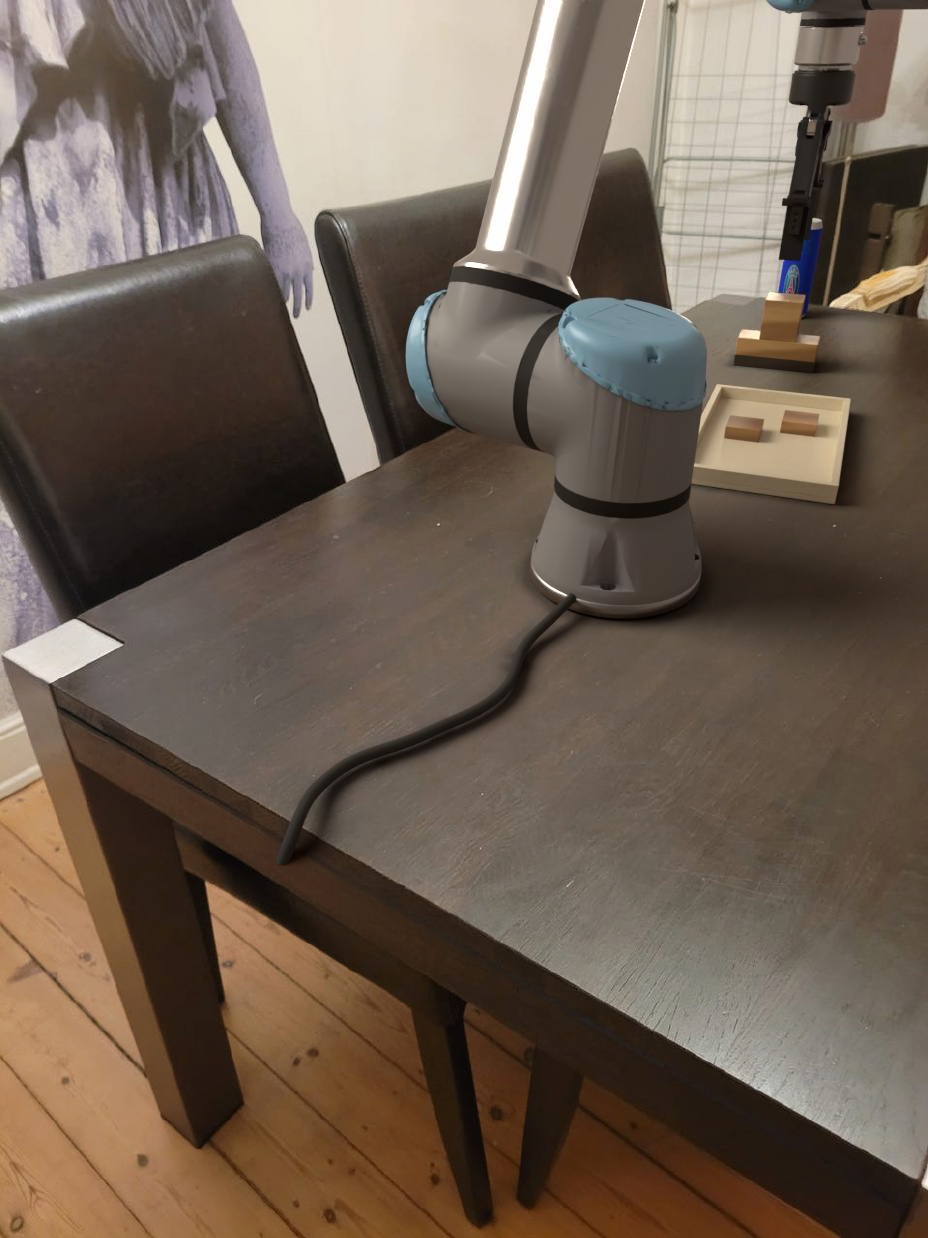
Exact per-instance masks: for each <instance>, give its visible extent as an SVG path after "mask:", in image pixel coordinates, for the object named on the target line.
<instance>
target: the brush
mask: <svg viewBox="0 0 928 1238" xmlns="http://www.w3.org/2000/svg"><path fill="white" fill-rule="evenodd" d="M805 296H806V295H799V294H786V293H778V292H773V291H772V292H771V291H769V292H768V294H767V296H766V298H765V300H764V307H763V312H762V317H761V318H762V319H761V325H760V330H756V329H754V330H753V329H741V330H740V332H739V334H738V336H737V338H736V344H735V353H734V359H733V366H739V367H750V368H760V369H761V368H762V369H769V370H770V369H771V370H780V371H789V372H800V373H810V374H812V373H814V370H815V365H816V361H817V356H818V351H819V345H820V340H821V336H820V335H812V334H811V335H810V334H799V333H800V328H801V323H802V318H803V317H802V313H803V307H804V302H805Z"/></svg>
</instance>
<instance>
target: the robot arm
mask: <svg viewBox="0 0 928 1238" xmlns="http://www.w3.org/2000/svg"><path fill="white" fill-rule="evenodd" d="M765 1H766V2H767V3H768V4H769V6H770V7H772V8H774V9H775V10H777V11H780V12H784V13H785V14H789V15H791V14H793V13H794V14H801V16H800V21H799V27H798V30H797V38H796V45H795V49H794V50H795V51H794V57H793V64H794V65H795V66H797V69H796V70H794V71H793V72H792V74H791V81H790V85H789V86H790V87H789V93H788V102H789V104H790V105H793V106H805V107H807V109H806V114H805V116H803V117H802V119H800V121H799V122H798V125H797V128H796V129H797V130H796V142H795V143H796V144H795V149H794V156H795V160H794V165H793V170H792V175H791V181H790V185H789V191H788V195H786V197H783V198H782V201H781V207H786V210H785V216H784V223H783V229H782V234H781V242H780V248H779V252H778V253H779V254H778V260H779V261H783V260H790V261H800V260H801V254H802V249H803V243H804V240H809V237H810V232H811V226H812V220H813V218H814V215H815V209H816V203H817V196H818V191H819V189H824V185H825V179H822V174H821V172H822V166H823V158H824V153H825V152H826V150H827V148H828V143H829V137H830V136H831V132H832V129H833V120H831V119H830V116H831V115H832V110H831V107H841V106H845V105H848V104H849V103H851V101H852V98H853V93H854V87H855V83H856V76H857V73H856V71H855V69H852V66H855V65H856V64H857V63H858V62H859V58H860V53H861V52H860V51H861V48H860V46H865V45H866V44H868V41H869V40H868V35H865V34H864V35H861V34H862V33H863V32H864V29H865V26H866V22H867V16H868V11H896V10H897V11H900V10H901V11H902V10H905V11H908V10H915V11H916V10H928V0H765ZM645 2H646V0H537V1H536V6H535V9H534V13H533V17H532V20H531V24H530V28H529V33H528V37H527V41H526V44H525V49H524V53H523V57H522V60H521V65H520V69H519V72H518V76H517V81H516V85H515V90H514V93H513V97H512V101H511V106H510V109H509V112H508V113H509V114H508V117H507V121H506V125H505V129H504V133H503V137H502V141H501V145H500V149H499V153H498V157H497V161H496V166H495V168H494V169H495V170H494V173H493V177H492V182H491V185H490V189H489V193H488V197H487V200H486V205H485V209H484V214H483V217H482V221H481V225H480V228H479V233H478V237H477V240H476V241H477V242H476V245H475V248H474V249H473V250H472V251H471V252H470V253H469V254H467V255H465V256H464V257H462V258H460V259H459V260H457V261H456V262H454V264H453V267H452V269H451V274H450V278H449V282H448V285H447V289H442V290H439V291H437V292H434V293H432V294H430V295H428V297H426V298H425V300H424V303H423V304H424V305H419V306H418V308H417V309H416V311H415V313H414V315H413V316H412V320H411V322H410V324H409V328H408V332H407V337H406V344H405V367H406V374H407V378H408V382H409V386H410V388H411V389H412V390H413V391H414V396H415V399H416V402H417V403H418V405H419V406H420V407H421V408H422V409H423V410H424V411H425V412H426V414H428V415H429V416H430V417H431V418H433V419H435V420H437V421H439V422H442V423H445V424H447V425H450V426H452V427H455V429H457V430H459V431H461V432H464V433H469V434H474V435H477V434H478V435H481V436H485V437H486V438H487V437H488V438H491V439H494V440H499V441H502V442H506V443H509V444H512V445H516V446H520V447H523V448H527V449H529V450H533V451H538V452H541V453H544V454H547V455H551V456H552V457H554V478H553V479H554V480H553V494H552V498H551V501H550V503H549V506H548V509H547V512H546V514H545V517H544V521H543V523H542V526H541V529H540V532H539V534H538V535H537V536H536V539H535V541H534V543H533V545H532V550H531V555H530V571H529V572H530V577H531V581H532V583H533V584H534V587H536V589H537V590H538V591H539V592H540V593H541V594H542V595H543V596H544V597H546V598H548V599H549V600H550V601H552V602H554V603H556V604H557V605H556V606H555V607H554V608H552V610H551V611H549V612H548V614H547V615H545V616H544V618H543V619H542V620H540V622H538V623H537V624H536V625H535V626H534V627H533V628H532V629H531V630H530V631H529V632H528V633H527V634H526V635H525V636H524V638H523V639H522V641H521V642H520V643H519V645H518V647H517V649H516V651H515V652H514V654H513V657H512V660H511V663H510V666H509V669H508V673H507V675H506V677H505V678H504V680H503V682H502V683H501V684H500V685H499V686H498V687H497V688H496V689H495V690H494V691H493V692H492V693H491V694H489V695H487V697H485V698H484V699H482V700H480V701H479V702H478V703H475V704H473V705H472V706H470V707H468V708H466V709H464V710H462V711H459V712H457V713H455V714H453V715H450V716H447V717H446V718H443V719H441V720H438V721H436V722H434V723H431V724H429V725H427V726H425V727H423V728H421V729H419V730H416V731H413V732H412V733H409V734H407V735H404V736H401V737H398V738H395V739H392V740H388V741H386V742H383V743H379V744H377V745H373V746H371V747H367V748H365V749H363V750H360V751H357V752H355V753H353V754H351V755H349V756H347V757H344V758H343V759H341V760H340V761H339V762H337V763H335V764H334V765H332V766H331V767H330V768H328V770H326V771H325V772H323V774H321V775H320V776H319V777H318V778H317V779H316V780H314V782H313V783H312V784H311V785H310V786H309V787H308V788H307V789H306V791H305V792H304V793H303V795H302V796H301V798H300V800H299V802H298V804H297V806H296V808H295V810H294V812H293V814H292V817H291V819H290V822H289V824H288V826H287V829H286V832H285V835H284V837H283V839H282V842H281V846H280V848H279V852H278V854H277V857H276V861H275V862H276V864H277V865H278V866H285V865H287V864H289V863H290V861H291V860H292V857H293V854H294V851H295V849H296V845H297V844H298V841H299V837H300V835H301V832H302V830H303V826H304V824H305V822H306V819H307V817H308V814H309V812H310V810H311V808H312V806H313V805H314V803H315V802H316V800H317V799H318V798H319V796H320V795H321V794H322V793H323V792H324V791H325V790H326V789H327V788H329V786H330V785H332V784H333V783H335V781H337V780H338V779H339V778H340V777H342V776H343V775H344V774H347V773H348V772H349V771H351V770H352V769H353V770H354V769H355V768H357V767H358V766H361V765H363V764H365V763H367V762H370V761H373V760H376V759H378V758H382V757H384V756H388V755H391V754H394V753H396V752H400V751H402V750H405V749H408V748H410V747H414V746H416V745H418V744H421V743H424V742H426V741H428V740H430V739H432V738H434V737H436V736H438V735H440V734H443V733H445V732H447V731H450V730H452V729H454V728H457V727H459V726H461V725H463V724H465V723H467V722H470V721H472V720H474V719H476V718H477V717H479V716H481V715H483V714H485V713H487V712H488V711H489V710H491V709H492V708H494V707H495V706H497V705H498V704H499V703H500V702H502V701H503V699H505V698H506V696H508V694H510V692H511V691H512V689H513V688H514V686H515V685H516V683H517V680H518V678H519V676H520V673H521V670H522V667H523V663H524V660H525V657H526V655H527V653H528V652H529V650H530V649H531V648H532V646H533V645H534V644H535V643H536V641H537V640H538V639H539V638H540V637H541V636H542V635H544V633H545V632H546V631H548V629H550V627H551V626H552V625H554V624H555V623H556V622H557V621H558V619H560V617H561V616H562V615H563V614H565V613H566V612H567V610H568V609H569V610H571V611H574V612H577V613H580V614H585V615H588V616H594V617H600V618H606V619H641V618H648V617H649V618H650V617H655V616H658V615H663V614H665V613H669V612H671V611H674V610H676V609H678V608H680V607H683V606H684V605H685V604H688V603H689V601H691V600H692V599H693V598H694V597H695V595H696V594H697V592H698V590H699V587H700V583H701V576H702V570H703V569H702V556H701V551H700V547H699V546H698V543H697V541H698V540H697V534H696V528H695V524H694V519H693V515H692V510H691V506H690V499H691V490H692V484H691V483H692V476H693V469H694V462H695V455H696V448H697V441H698V434H699V427H700V420H701V415H702V413H703V405H704V399H705V397H706V394H707V387H708V385H707V379H706V377H707V362H708V361H707V360H708V347H707V342H706V338H705V337H704V335H703V333H702V332H701V331H700V330H699V328H698V327H697V325H696V324H694V322H692V321H691V320H690V319H689V318H687V317H686V316H685V315H684V316H683V315H682V314H680V313H678V312H676V311H673V310H671V309H669V308H666V307H663V306H661V305H657V304H654V303H650V302H645V301H641V300H638V299H637V300H636V299H631V298H629V299H628V298H626V299H623V300H622V299H617V298H614V297H592V298H586V299H585V298H584V299H582V298H581V296H580V293H579V291H578V289H577V288H576V286H575V284H574V282H573V280H572V275H571V273H572V270H573V266H574V262H575V258H576V254H577V251H578V247H579V243H580V240H581V236H582V232H583V229H584V225H585V222H586V218H587V214H588V212H589V211H588V210H589V207H590V203H591V199H592V195H593V192H594V189H595V184H596V181H597V178H598V174H599V170H600V166H601V163H602V159H603V155H604V151H605V149H606V145H607V141H608V137H609V133H610V130H611V126H612V124H613V119H614V116H615V111H616V108H617V104H618V100H619V97H620V93H621V90H622V86H623V83H624V79H625V75H626V71H627V67H628V64H629V61H630V57H631V53H632V49H633V46H634V42H635V39H636V36H637V31H638V28H639V24H640V20H641V16H642V13H643V9H644V5H645Z"/></svg>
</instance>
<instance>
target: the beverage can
mask: <svg viewBox="0 0 928 1238" xmlns="http://www.w3.org/2000/svg"><path fill="white" fill-rule="evenodd" d="M823 228H824V227H823V220H822V219H820V218H817V217H813V220H812V226H811V232H810V237H809V240H804V243H803V249H802V254H801V260H800V261H790V260H782V267H781V271H780V278H779V285H778V290H777V293H786V294H799V295H806V296H805V302H804V307H803V313H802V318H804V317H805V316H806V315H807V314H808V310H809V304H810V298H811V293H812V288H813V283H814V277H815V272H816V265H817V261H818V256H819V250H820V245H821V239H822V234H823Z"/></svg>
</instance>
